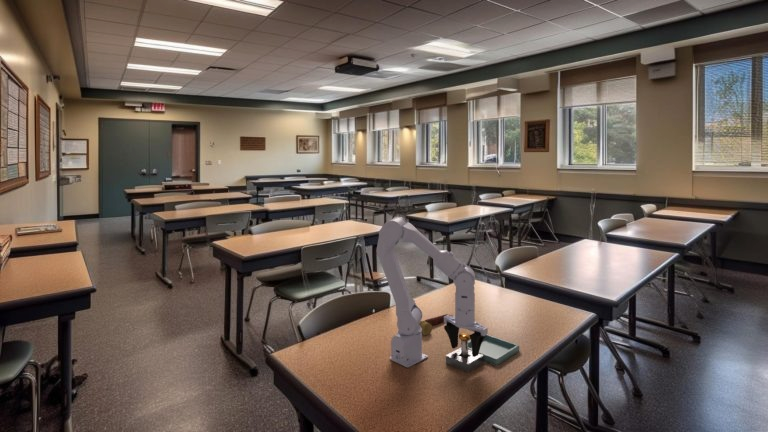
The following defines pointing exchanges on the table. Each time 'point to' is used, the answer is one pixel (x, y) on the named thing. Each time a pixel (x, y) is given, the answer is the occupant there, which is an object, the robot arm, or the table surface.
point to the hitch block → (464, 360)
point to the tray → (496, 349)
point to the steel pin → (464, 344)
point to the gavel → (428, 324)
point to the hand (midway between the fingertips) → (464, 351)
